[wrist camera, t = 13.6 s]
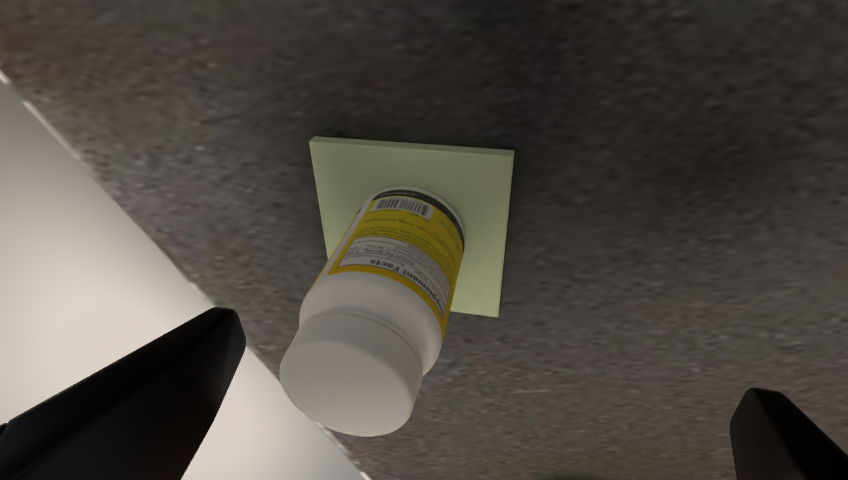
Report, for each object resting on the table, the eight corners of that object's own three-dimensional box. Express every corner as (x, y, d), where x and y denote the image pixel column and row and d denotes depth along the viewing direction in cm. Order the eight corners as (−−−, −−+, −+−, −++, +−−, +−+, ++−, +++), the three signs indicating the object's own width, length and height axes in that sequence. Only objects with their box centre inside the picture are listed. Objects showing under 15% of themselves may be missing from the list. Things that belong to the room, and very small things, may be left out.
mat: (514, 149, 18) (513, 156, 17) (499, 309, 22) (498, 317, 22) (314, 135, 19) (308, 141, 19) (337, 287, 24) (333, 295, 23)
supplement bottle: (406, 292, 22) (342, 459, 15) (336, 218, 21) (231, 368, 14) (490, 247, 20) (459, 422, 13) (418, 160, 18) (341, 307, 12)
